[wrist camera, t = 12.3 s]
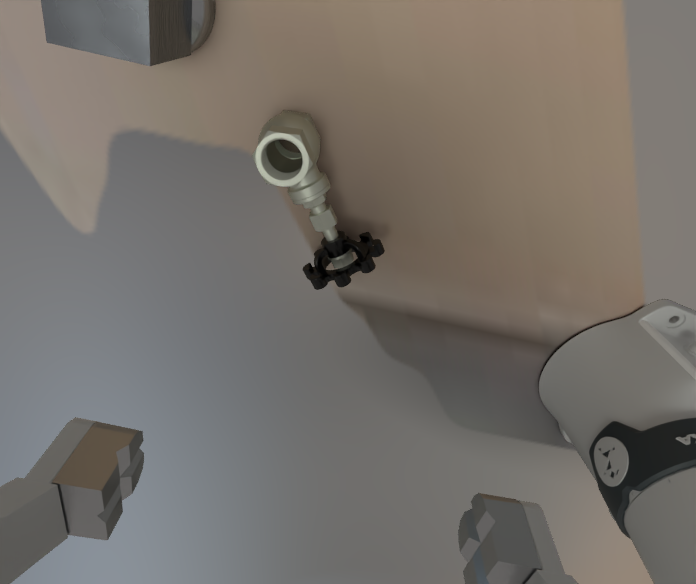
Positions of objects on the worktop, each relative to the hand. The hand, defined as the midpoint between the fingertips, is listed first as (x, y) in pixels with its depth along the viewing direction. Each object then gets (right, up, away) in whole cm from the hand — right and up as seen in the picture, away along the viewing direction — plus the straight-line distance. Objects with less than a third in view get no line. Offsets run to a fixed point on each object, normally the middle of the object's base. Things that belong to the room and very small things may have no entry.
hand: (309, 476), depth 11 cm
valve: (-1, +13, +24) cm, 28 cm away
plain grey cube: (-11, +22, +15) cm, 29 cm away
